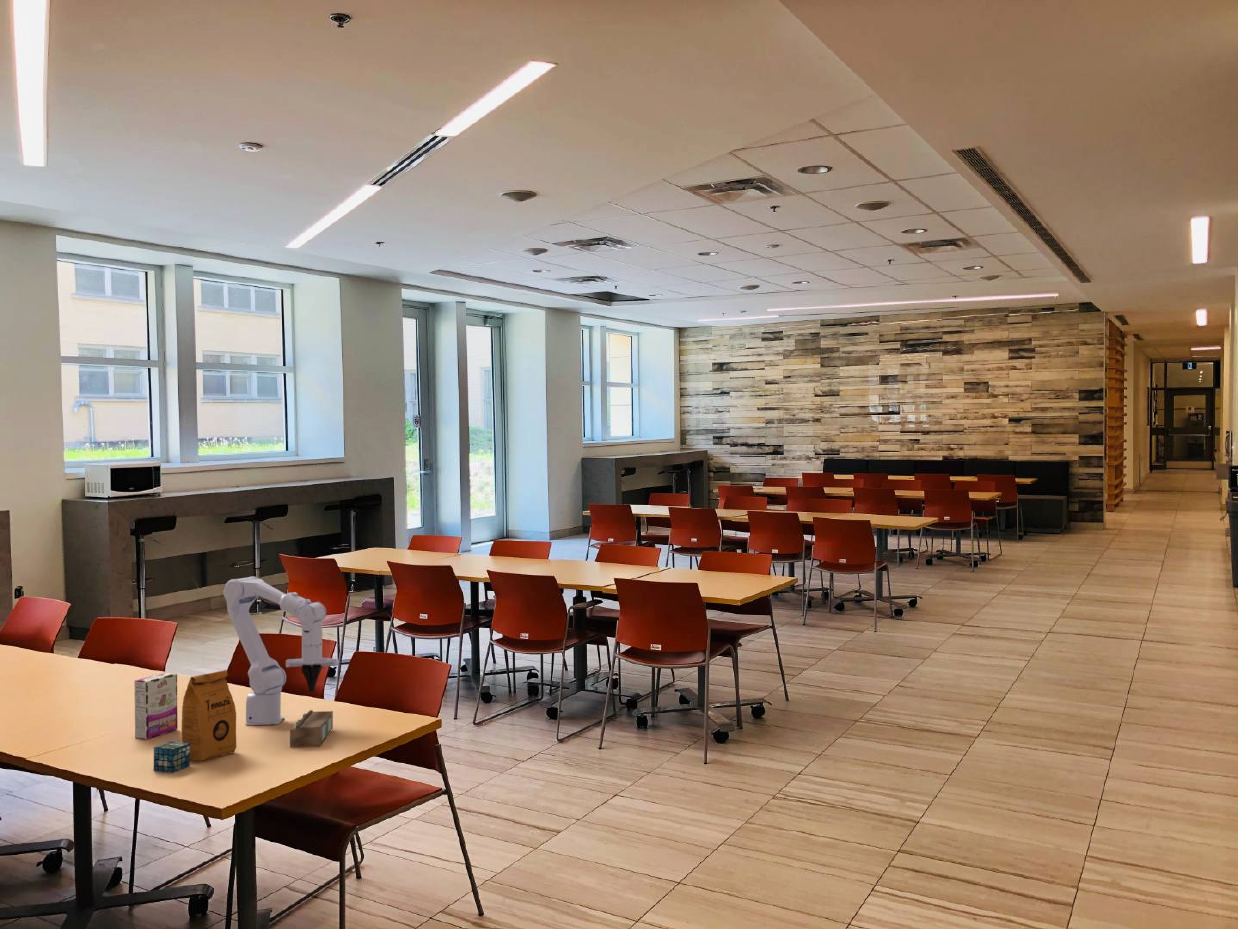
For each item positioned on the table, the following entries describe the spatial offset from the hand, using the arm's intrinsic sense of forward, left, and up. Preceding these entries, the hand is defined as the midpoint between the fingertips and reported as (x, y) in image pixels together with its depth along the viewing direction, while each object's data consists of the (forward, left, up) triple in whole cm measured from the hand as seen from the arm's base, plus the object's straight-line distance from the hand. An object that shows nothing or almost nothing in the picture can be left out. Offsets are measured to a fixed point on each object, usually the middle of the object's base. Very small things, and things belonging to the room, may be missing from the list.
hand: (312, 690), depth 283 cm
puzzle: (-26, -38, -11) cm, 47 cm away
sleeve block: (+3, -13, -10) cm, 17 cm away
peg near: (+3, -17, -10) cm, 20 cm away
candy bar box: (-42, -5, -11) cm, 44 cm away
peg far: (+3, -9, -10) cm, 14 cm away
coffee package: (-20, -28, -11) cm, 36 cm away
